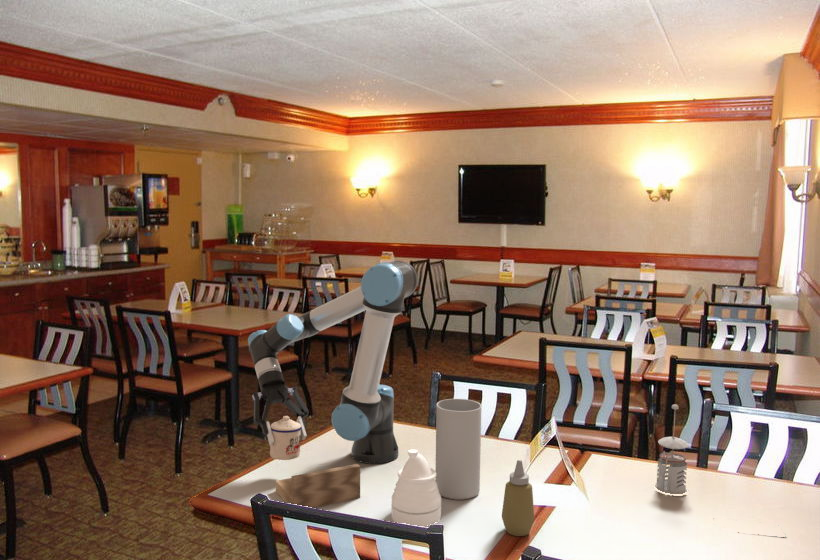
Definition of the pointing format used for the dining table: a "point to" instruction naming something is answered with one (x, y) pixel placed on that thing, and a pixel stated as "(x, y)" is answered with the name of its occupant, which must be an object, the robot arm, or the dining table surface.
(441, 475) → the cylinder vase
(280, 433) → the teacup with lid
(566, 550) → the dining table surface
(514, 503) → the squeeze bottle
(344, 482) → the cleat board
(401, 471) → the honey pot
